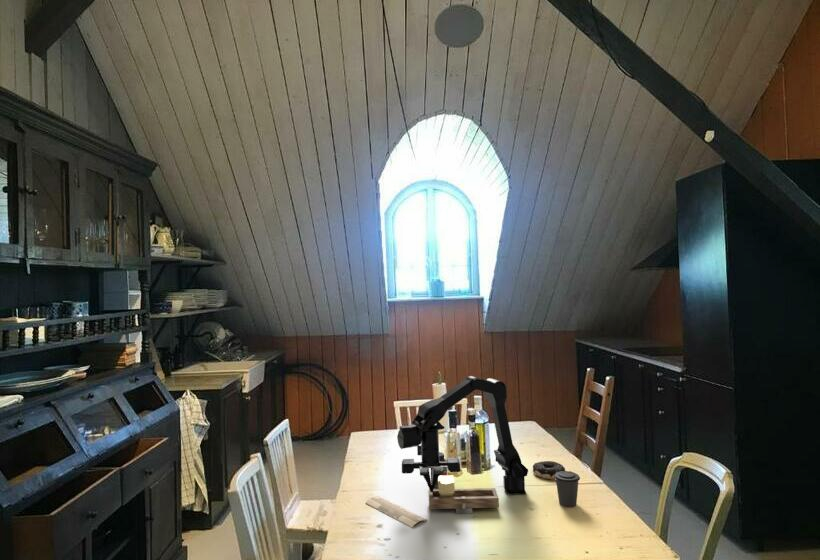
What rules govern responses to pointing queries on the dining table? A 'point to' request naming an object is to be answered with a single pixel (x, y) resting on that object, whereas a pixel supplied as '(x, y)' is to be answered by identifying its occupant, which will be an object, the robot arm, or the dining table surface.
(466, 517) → the dining table surface
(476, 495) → the brown wooden rectangular tray
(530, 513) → the dining table surface
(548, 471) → the donut
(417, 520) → the beige piece
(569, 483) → the coffee cup
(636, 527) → the dining table surface
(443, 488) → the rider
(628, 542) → the dining table surface
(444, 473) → the supplement bottle
